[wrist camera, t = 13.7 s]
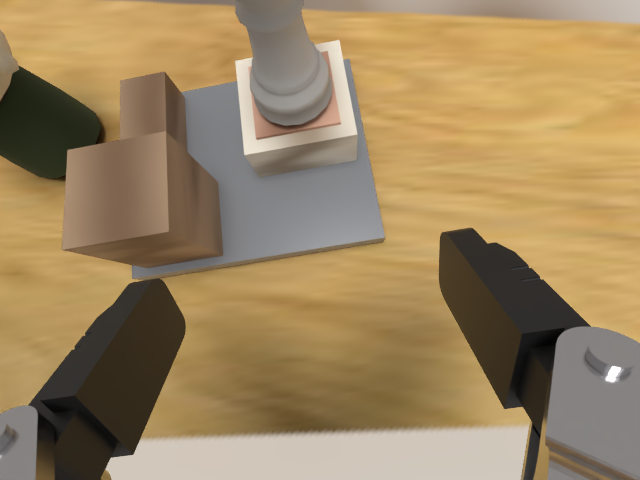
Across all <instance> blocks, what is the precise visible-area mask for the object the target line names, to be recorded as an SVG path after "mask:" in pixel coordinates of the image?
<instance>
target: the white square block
mask: <svg viewBox="0 0 640 480" xmlns="http://www.w3.org/2000/svg"><path fill="white" fill-rule="evenodd" d="M315 47H316V49H318V50H319V51H320V52H321V54H322V55H323V57H324V59H325V61H326V62H327V64H328V67H329V76H330V78H331V81H332V94H331V97H330V99H329V102H328V104H327V106H326V107H325V108H324V110H323V111H322V112H321V113H320V114H319V115H318V116H317V117H316V118H314V119H311V120H309V121H307V122H305V123H303V124H299V125H288V126H284V125H281V124H277V123H274V122H270V121H269V120H268V119H267V118H265V117H264V116H263V115H262V114H261V113H259V110H258V108H257V106H256V104H255V102H254V97H253V94H252V92H251V90H250V69H251V67H252V58H248V59H243V60H238V61H235V62H236V73H237V83H238V94H239V104H240V115H241V125H242V136H243V146H244V155H245V157H246V158H247V160H248V161H249V163H250V164H251V166H252V167H253V169H254V170H255V172H256V173H257V175H258V176H259V177H266V176H271V175H277V174H282V173H288V172H294V171H299V170H305V169H310V168H316V167H321V166H327V165H333V164H338V163H344V162H349V161H355V160H357V136H358V134H357V129H356V124H355V119H354V114H353V108H352V103H351V98H350V93H349V88H348V83H347V78H346V72H345V67H344V62H343V57H342V52H341V47H340V42H339V40H336V41H331V42H327V43H322V44H317V45H315Z"/></svg>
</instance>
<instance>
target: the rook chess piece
mask: <svg viewBox="0 0 640 480" xmlns="http://www.w3.org/2000/svg"><path fill="white" fill-rule="evenodd" d="M303 5H304V0H236V11H235V13H236V15H237V17H238V19H239V21H240V23H242V24H243V25H244V26H246V28H247V31H248V34H249V38H250V43H251V48H252V52H253V58H252V67H251V69H250V90H251V92H252V94H253V97H254V102H255V104H256V106H257V108H258V110H259V113H261V114H262V115H263V116H264V117H265V118H267V119H268V120H269V121H270V122H274V123H277V124H281V125H284V126H288V125H299V124H303V123H305V122H307V121H309V120H311V119H314V118H316V117H317V116H318V115H319V114H320V113H321V112H322V111H323V110H324V108H325V107H326V106H327V104H328V102H329V99H330V97H331V94H332V81H331V78H330V76H329V67H328V64H327V62H326V61H325V59H324V57H323V55H322V54H321V52H320V51H319V50H318V49H316V47H315V45H314V43H313V42H311V41H310V40H309V37H308V34H307V31H306V28H305V24H304V21H303V18H302V12H301V10H302V7H303Z"/></svg>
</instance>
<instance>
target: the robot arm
mask: <svg viewBox="0 0 640 480" xmlns="http://www.w3.org/2000/svg"><path fill="white" fill-rule="evenodd" d="M439 284H440V288H441V292H442V295H443V297H444V299H445V301H446V303H447V305H448V307H449V309H450V310H451V312H452V314H453V316H454V318H455V320H456V321H457V323H458V325H459V327H460V329H461V331H462V332H463V334H464V336H465V338H466V340H467V342H468V343H469V345H470V347H471V349H472V351H473V352H474V354H475V356H476V358H477V360H478V362H479V363H480V365H481V367H482V369H483V371H484V373H485V374H486V376H487V378H488V380H489V382H490V384H491V385H492V387H493V389H494V391H495V393H496V395H497V396H498V398H499V400H500V402H501V404H502V406H503V407H504V409H508V408H516V407H523V408H524V409H525V411H526V413H527V414H528V416H529V418H530V419H531V422H530V426H529V431H528V438H527V444H526V450H525V457H524V463H523V470H522V476H521V480H640V343H638V342H637V341H635V340H633V339H631V338H629V337H627V336H625V335H622V334H620V333H617V332H614V331H611V330H608V329H603V328H598V327H591V326H590V325H589V324H588V323H587V322H586V321H585V320H584V319H583V318H582V317H581V316H580V315H579V314H578V313H577V312H576V311H575V310H574V309H573V308H572V307H570V306H569V305H568V304H567V303H566V302H565V301H564V300H563V299H562V298H561V297H560V296H559V295H558V294H557V293H556V292H555V291H554V290H553V289H552V288H551V287H550V286H549V285H548V284H547V283H546V282H545V281H544V280H541V279H540V276H539V275H538V274H537V273H536V272H535V271H534V270H533V269H532V268H529V267H528V264H527V263H526V262H525V261H523V260H522V259H521V258H520V257H519V256H518V255H517V254H516V253H515V252H514V251H512V250H510V249H508V248H506V247H504V246H502V245H500V244H498V243H489V244H487V243H486V242H485V240H484V239H483V238H482V237H481V236H480V235H479V234H478V233H477V232H476V231H475V230H474V229H473V228H466V229H460V230H454V231H448V232H443V233H442V234H441V236H440V254H439ZM185 328H186V327H185V320H184V317H183V315H182V313H181V311H180V309H179V307H178V306H177V304H176V302H175V300H174V298H173V297H172V295H171V293H170V291H169V289H168V288H167V286H166V284H165V283H164V282H163V281H162V280H161V279H151V280H145V281H139V282H133V283H130V284H129V285H128V286H127V287H126V288H125V290H124V291H123V292H122V293H121V295H120V296H119V297H118V299H117V300H116V301H115V303H114V304H113V305H112V306H111V307H109V308H108V309H107V310H106V311H105V312H103V313H102V314H101V315H100V316H99V317H97V319H96V320H95V321H94V322H93V324H92V325H91V326H90V328H89V329H88V330H87V331H86V333H85V336H82V338H81V339H80V340H79V342H78V343H77V344H76V345H75V350H71V352H70V353H69V354H68V355H67V357H66V358H65V359H64V361H63V362H62V363H61V364H60V366H59V367H58V368H57V369H56V371H55V372H54V373H53V375H52V376H51V377H50V378H49V380H48V381H47V382H46V383H45V385H44V386H43V387H42V389H41V390H40V391H39V392H38V394H37V395H36V396H35V397H34V399H33V400H32V401H31V403H30V404H29V405H28V406H19V407H15V408H12V409H10V410H7V411H5V412H3V413H1V414H0V480H111V477H110V474H109V473H108V471H106V470H105V468H106V466H107V464H108V462H109V460H110V458H111V457H119V456H127V455H133V454H134V452H135V450H136V447H137V445H138V443H139V440H140V438H141V436H142V433H143V431H144V429H145V426H146V424H147V422H148V419H149V417H150V415H151V412H152V410H153V408H154V406H155V403H156V401H157V399H158V396H159V394H160V392H161V389H162V387H163V385H164V382H165V380H166V378H167V375H168V373H169V371H170V368H171V366H172V364H173V361H174V359H175V357H176V355H177V352H178V350H179V348H180V345H181V343H182V341H183V338H184V335H185Z"/></svg>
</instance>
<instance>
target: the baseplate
mask: <svg viewBox="0 0 640 480" xmlns="http://www.w3.org/2000/svg"><path fill="white" fill-rule="evenodd" d="M343 62H344V67H345V72H346V78H347V83H348V88H349V93H350V98H351V103H352V108H353V114H354V119H355V124H356V129H357V134H358V136H357V160H355V161H349V162H344V163H338V164H333V165H327V166H321V167H316V168H310V169H305V170H299V171H294V172H288V173H282V174H277V175H271V176H266V177H259V176H258V175H257V173H256V172H255V170H254V169H253V167H252V166H251V164H250V163H249V161H248V160H247V158H246V157H245V155H244V146H243V136H242V125H241V115H240V104H239V94H238V83H237V81H236V82H231V83H226V84H221V85H216V86H211V87H205V88H200V89H195V90H190V91H185V92H181V93H182V95H183V96H184V97H185V112H186V133H187V152H188V153H189V154H190V155H191V156H192V157H193V158H194V159H195V160H196V161H197V162H198V163H199V164H200V165H201V166H202V167H203V168H204V169H205V170H206V171H207V172H208V173H209V174H210V175H211V176H212V177H213V178H214V179H215V180H216V181H217V182H218V188H219V202H220V216H221V230H222V244H223V256H219V257H213V258H207V259H201V260H194V261H188V262H182V263H176V264H170V265H164V266H158V267H152V268H143V267H139V266H134V265H132V279H138V280H150V279H156V278H162V277H169V276H175V275H181V274H187V273H193V272H200V271H206V270H212V269H218V268H224V267H230V266H237V265H243V264H249V263H255V262H261V261H268V260H274V259H280V258H286V257H292V256H298V255H305V254H311V253H317V252H323V251H329V250H336V249H342V248H348V247H354V246H360V245H367V244H373V243H379V242H383V241H384V239H385V235H384V230H383V225H382V220H381V215H380V210H379V205H378V200H377V195H376V190H375V185H374V180H373V175H372V170H371V165H370V160H369V155H368V150H367V145H366V140H365V135H364V130H363V125H362V120H361V115H360V110H359V105H358V100H357V95H356V90H355V85H354V80H353V75H352V70H351V65H350V60H349V59H346V60H343Z"/></svg>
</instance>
